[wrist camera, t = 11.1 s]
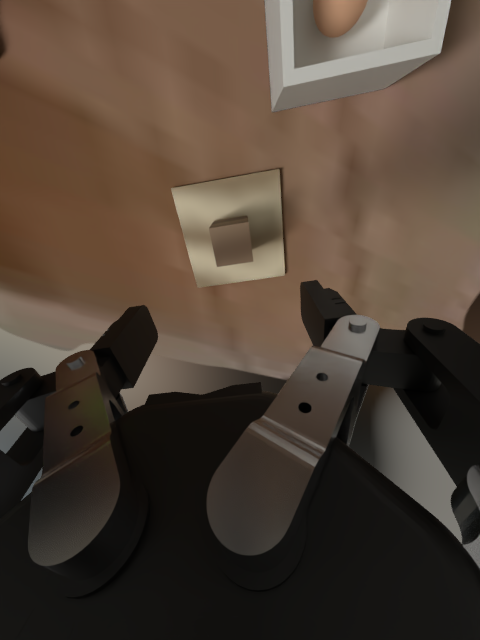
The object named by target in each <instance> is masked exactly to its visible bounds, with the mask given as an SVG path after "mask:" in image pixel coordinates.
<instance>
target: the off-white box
mask: <svg viewBox="0 0 480 640" xmlns="http://www.w3.org/2000/svg"><path fill="white" fill-rule="evenodd" d="M264 1H265V17H266V32H267V47H268V62H269V78H270V93H271V108H272V112H277V111H282V110H286V109H291V108H296V107H301V106H305V105H310V104H315V103H320V102H325V101H329V100H334V99H339V98H344V97H348V96H353V95H358V94H363V93H367V92H372V91H377V90H382V89H385V88H387V87H388V86H390V85H391V84H393V83H395V82H396V81H398V80H399V79H401V78H402V77H404V76H406V75H407V74H409V73H410V72H412V71H413V70H415V69H416V68H418V67H420V66H421V65H423V64H424V63H426V62H427V61H429V60H430V59H432V58H434V57H435V56H437V55H438V54H440V53H441V49H442V44H443V39H444V34H445V29H446V24H447V19H448V14H449V9H450V4H451V0H368V1H367V4H366V7H365V9H364V11H363V13H362V15H361V16H360V18H359V20H358V21H357V22H356V24H355V25H354V26H353V27H352V28H351V29H350V30H349V31H348V32H346V33H345V34H343V35H342V36H339V37H335V38H330V37H327V36H325V35H323V34H322V33H321V32H320V31H319V29H318V28H317V25H316V23H315V19H314V14H313V0H264Z"/></svg>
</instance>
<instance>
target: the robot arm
mask: <svg viewBox="0 0 480 640" xmlns="http://www.w3.org/2000/svg"><path fill="white" fill-rule="evenodd" d="M300 293H301V316H302V321H303V323H304V326H305V328H306V330H307V332H308V335H309V337H310V339H311V341H312V344H313V346H312V347H311V348H310V349H309V351H308V352H307V353H306V355H305V356H304V358H303V359H302V361H301V362H300V363H299V365H298V366H297V368H296V369H295V371H294V372H293V373H292V375H291V376H290V378H289V379H288V381H287V382H286V384H285V385H284V387H283V388H282V389H281V391H280V392H279V394H275V393H271V392H266V391H262V386H261V382H259V383H249V384H241V385H232V386H229V387H226V388H223V389H220V390H217V391H213V392H211V393H207V394H203V395H199V394H189V393H181V392H171V393H161V394H152V395H149V396H148V398H147V401H146V403H145V405H142V406H140V407H137V408H135V409H133V410H132V411H129V412H128V410H127V408H126V405H125V402H124V400H123V397H122V396H121V394H120V390H121V389H127V388H133V387H134V386H135V384H136V382H137V380H138V378H139V376H140V374H141V372H142V370H143V368H144V366H145V364H146V362H147V360H148V358H149V356H150V354H151V352H152V350H153V348H154V346H155V344H156V342H157V340H158V333H157V329H156V327H155V325H154V322H153V320H152V317H151V315H150V313H149V310H148V308H147V307H146V306H145V305H142V306H135V307H129V308H128V309H127V310H126V311H125V313H124V314H123V315H122V316H121V317H120V318H119V319H118V320H117V321H116V322H114V323H113V324H112V325H111V326H110V327H109V328H108V329H107V331H106V332H105V333H104V334H103V336H101V337H100V339H99V340H98V341H97V342H96V343H95V344H94V345H93V347H92V348H91V349H90V350H86V351H80V352H78V353H75V354H73V355H71V356H69V357H67V358H66V359H65V360H63V361H62V362H61V363H60V364H59V365H58V366H57V367H56V372H53V373H50V374H47V375H43V376H40V375H39V374H38V373H37V371H36V370H35V369H33V368H25V369H22V370H19V371H16V372H14V373H12V374H10V375H8V376H6V377H4V378H3V379H1V380H0V431H1V429H2V428H3V427H4V426H5V425H6V424H7V423H8V421H10V419H11V418H12V417H13V416H14V415H15V416H16V417H17V418H18V419H20V421H21V422H23V423H24V424H25V425H26V426H27V428H26V430H25V431H24V432H23V433H22V435H21V436H20V437H19V438H18V440H17V441H16V442H15V443H14V445H13V446H12V447H11V448H10V450H9V451H8V452H7V453H6V454H5V453H4V452H3V451H1V450H0V640H480V344H479V343H477V342H476V341H475V340H473V339H472V338H471V337H469V336H468V335H467V334H465V333H464V332H463V331H461V330H460V329H459V328H457V327H456V326H454V325H453V324H451V323H448V322H446V321H443V320H439V319H434V318H416V319H413V320H411V321H409V322H408V324H407V327H406V330H392V329H381V328H380V326H379V324H378V323H377V322H376V321H375V320H373V319H371V318H369V317H366V316H361V315H357V314H356V313H355V312H354V311H353V310H352V308H351V307H350V306H349V305H348V304H347V303H346V301H345V300H344V299H343V298H342V297H341V296H340V295H339V293H338V292H336V291H334V290H332V289H330V288H326V289H323V287H322V286H321V285H320V283H319V282H318V281H317V280H314V281H307V282H301V285H300ZM369 384H370V385H377V386H384V387H392V388H394V390H395V392H396V393H397V395H398V396H399V398H400V399H401V401H402V402H403V404H404V405H405V407H406V409H407V410H408V412H409V413H410V415H411V416H412V418H413V419H414V421H415V422H416V424H417V426H418V427H419V429H420V430H421V432H422V433H423V435H424V436H425V438H426V440H427V441H428V443H429V444H430V446H431V447H432V448H433V450H434V452H435V453H436V455H437V457H438V458H439V460H440V461H441V463H442V464H443V465H444V467H445V469H446V470H447V472H448V473H449V475H450V477H451V478H452V480H453V481H454V483H455V484H456V486H457V487H456V489H455V490H454V491H453V493H452V495H451V507H452V511H453V513H454V515H455V518H456V520H457V522H458V525H459V527H460V531H461V535H462V544H461V543H460V542H459V540H458V539H457V538H456V537H455V536H454V535H453V534H452V533H451V532H450V530H448V528H447V527H446V526H445V525H443V524H442V523H441V522H440V521H439V520H438V519H437V518H436V517H435V516H433V515H432V514H431V513H430V512H429V511H427V510H426V509H425V508H424V507H423V506H421V505H420V504H419V503H418V502H416V501H415V500H414V499H413V498H411V497H410V496H409V495H408V494H407V493H405V492H404V491H403V490H402V489H400V488H399V487H398V486H396V485H395V484H394V483H393V482H392V481H390V480H389V479H388V478H387V477H386V476H384V475H383V474H382V473H380V472H379V471H378V470H377V469H376V468H374V467H373V466H372V465H371V464H370V463H368V462H367V461H366V460H364V459H363V458H362V457H361V456H360V455H358V454H357V453H356V452H355V451H353V450H352V449H351V448H350V447H349V443H350V440H351V436H352V432H353V429H354V425H355V422H356V418H357V416H358V413H359V410H360V407H361V405H362V402H363V399H364V396H365V393H366V391H367V388H368V385H369ZM41 468H42V469H43V470H42V476H41V478H40V479H38V480H37V481H36V482H35V484H34V485H33V488H32V492H31V493H30V494H29V495H27V496H26V497H25V498H24V499H23V500H22V501H21V499H22V498H23V496H24V495H25V493H26V492H27V490H28V489H29V487H30V485H31V484H32V482H33V481H34V479H35V478H36V476H37V474H38V473H39V471H40V470H41Z"/></svg>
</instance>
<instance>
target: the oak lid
mask: <svg viewBox="0 0 480 640" xmlns="http://www.w3.org/2000/svg"><path fill="white" fill-rule="evenodd" d="M171 190H172V194H173V198H174V202H175V205H176V209H177V213H178V216H179V220H180V224H181V228H182V231H183V235H184V239H185V243H186V246H187V250H188V254H189V258H190V261H191V265H192V269H193V272H194V276H195V280H196V284H197V287H198V288H199V287H206V286H213V285H220V284H227V283H234V282H241V281H248V280H256V279H263V278H270V277H277V276H284V275H285V265H284V246H283V227H282V208H281V189H280V169H276V170H270V171H265V172H259V173H254V174H248V175H242V176H237V177H231V178H226V179H220V180H215V181H209V182H204V183H198V184H193V185H187V186H182V187H176V188H171Z"/></svg>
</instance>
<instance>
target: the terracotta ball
mask: <svg viewBox="0 0 480 640" xmlns="http://www.w3.org/2000/svg"><path fill="white" fill-rule="evenodd" d="M367 1H368V0H313V14H314V19H315V23H316V25H317V28H318V29H319V31H320V32H321V33H322V34H323V35H325V36H327V37H330V38H335V37H339V36H342V35H343V34H345V33H346V32H348V31H349V30H350V29H351V28H352V27H353V26H354V25H355V24H356V22H357V21H358V20H359V18H360V16H361V15H362V13H363V11H364V9H365V7H366V4H367Z"/></svg>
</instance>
